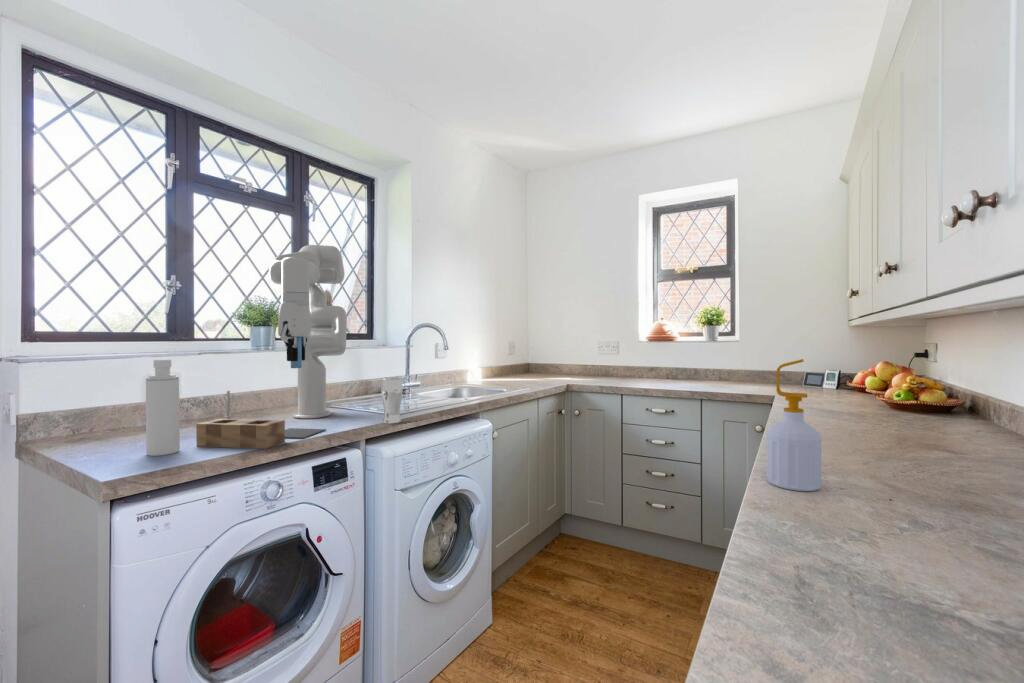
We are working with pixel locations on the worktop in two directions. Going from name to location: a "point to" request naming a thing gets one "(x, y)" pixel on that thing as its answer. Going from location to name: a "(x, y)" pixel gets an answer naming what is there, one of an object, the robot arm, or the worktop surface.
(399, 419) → the beer glass
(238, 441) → the hole block
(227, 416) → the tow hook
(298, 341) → the pin
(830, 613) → the worktop surface
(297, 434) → the mat
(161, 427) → the white capped bottle
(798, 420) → the soap bottle
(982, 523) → the worktop surface
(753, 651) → the worktop surface
